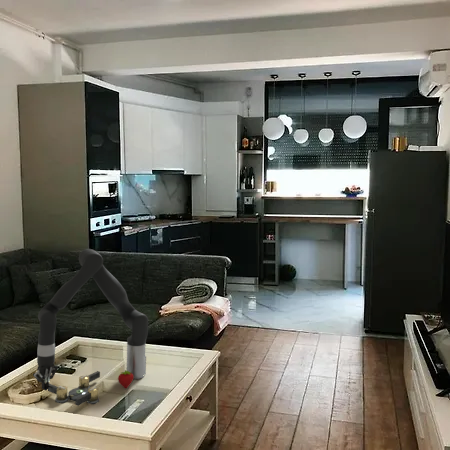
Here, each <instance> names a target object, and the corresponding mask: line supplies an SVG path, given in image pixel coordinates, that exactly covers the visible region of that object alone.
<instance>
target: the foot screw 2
mask: <svg viewBox="0 0 450 450" xmlns="http://www.w3.org/2000/svg"><path fill="white" fill-rule="evenodd" d="M98 398H99V388H98V387H97V386H92V387H91V386H90V388H89V389H88V392H87V393H85V394H84V395H82V396H80V397H78V398H76V402H75V401H74V404H75V406H77V407H78V406H81V405H82V404H85V403H87V401H88V400H89V401H96V400H98Z"/></svg>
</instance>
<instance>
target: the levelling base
mask: <svg viewBox="0 0 450 450" xmlns="http://www.w3.org/2000/svg"><path fill="white" fill-rule="evenodd" d="M89 388H91V386H90V385H89V387H88V388H83V387H81V388H79V385H78V387H75V388H72V389H70V390H69V391H68V392H67V399H65V400H57V396H56V397H55V403H58V404H64V403H67V402H68V401H72V402H74V403H75V402H76V398H78V397H80V396H82V395H84V394H85V393H87V392H88V389H89ZM99 402H100V398H99V397H98V400H96V401H89V400H88V401H86V403H87V404H89V405H96V404H98V403H99Z"/></svg>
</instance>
